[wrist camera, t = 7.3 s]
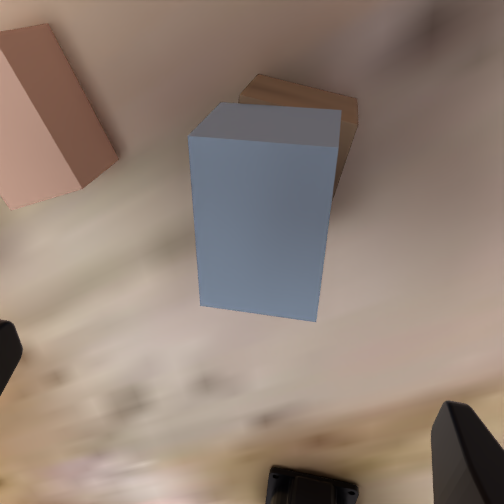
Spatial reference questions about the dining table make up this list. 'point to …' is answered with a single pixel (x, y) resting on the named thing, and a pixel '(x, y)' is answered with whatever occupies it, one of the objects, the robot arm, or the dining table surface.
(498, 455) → the robot arm
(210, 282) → the slate blue brick
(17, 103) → the terracotta brick
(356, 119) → the walnut brick
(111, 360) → the dining table surface
